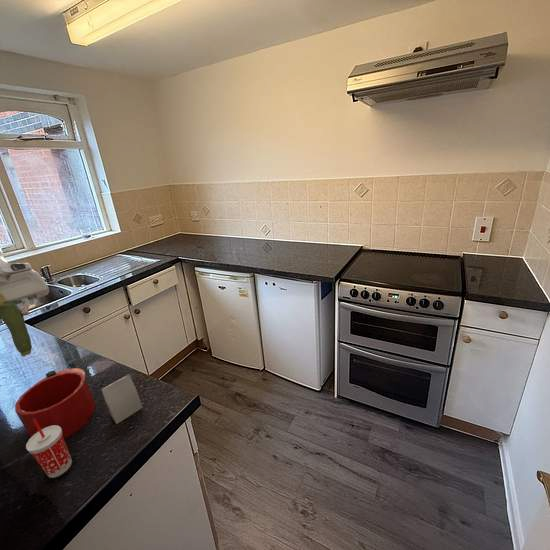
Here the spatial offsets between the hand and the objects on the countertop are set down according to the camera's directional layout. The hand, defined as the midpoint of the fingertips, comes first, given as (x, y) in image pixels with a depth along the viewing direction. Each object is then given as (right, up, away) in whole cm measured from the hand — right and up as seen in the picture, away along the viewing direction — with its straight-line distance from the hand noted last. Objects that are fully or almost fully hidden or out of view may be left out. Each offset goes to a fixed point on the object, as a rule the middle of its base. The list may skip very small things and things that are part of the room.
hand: (13, 319), depth 80 cm
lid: (+4, -22, +11) cm, 25 cm away
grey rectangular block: (+31, -24, -1) cm, 40 cm away
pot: (+15, -26, -1) cm, 30 cm away
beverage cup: (+23, -31, -14) cm, 41 cm away
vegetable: (+1, -11, +5) cm, 12 cm away
